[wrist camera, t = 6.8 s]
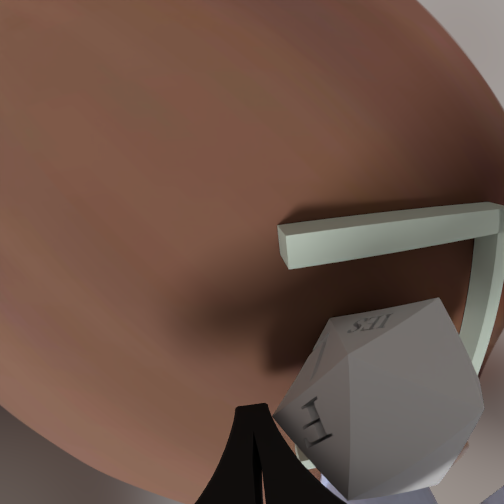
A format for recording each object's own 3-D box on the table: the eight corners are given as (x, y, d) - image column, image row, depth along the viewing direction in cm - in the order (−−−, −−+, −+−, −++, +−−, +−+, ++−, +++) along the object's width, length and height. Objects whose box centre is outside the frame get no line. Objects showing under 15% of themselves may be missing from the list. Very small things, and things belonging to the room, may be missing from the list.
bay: (449, 399, 16) (461, 414, 15) (295, 449, 16) (300, 470, 14) (488, 201, 12) (511, 207, 10) (277, 225, 12) (285, 235, 10)
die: (392, 233, 13) (322, 365, 5) (505, 336, 10) (518, 503, 3) (307, 337, 17) (206, 454, 10) (405, 414, 15) (353, 545, 7)
